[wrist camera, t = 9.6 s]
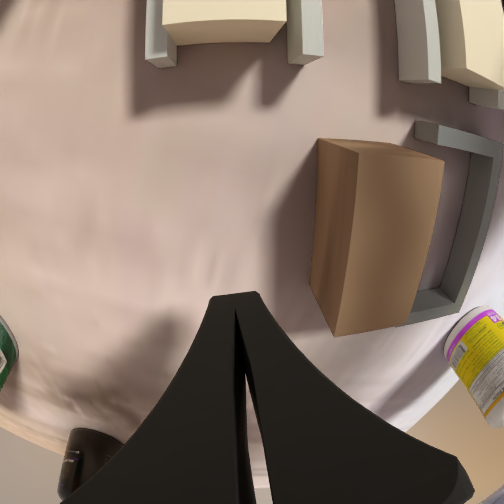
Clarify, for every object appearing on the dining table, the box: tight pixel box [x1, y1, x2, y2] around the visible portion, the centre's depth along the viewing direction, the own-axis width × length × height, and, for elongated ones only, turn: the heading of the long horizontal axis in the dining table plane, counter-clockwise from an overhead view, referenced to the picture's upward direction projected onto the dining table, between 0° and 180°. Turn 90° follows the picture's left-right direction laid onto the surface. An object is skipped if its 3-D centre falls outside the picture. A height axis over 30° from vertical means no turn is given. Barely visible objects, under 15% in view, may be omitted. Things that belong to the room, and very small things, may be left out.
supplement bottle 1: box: [58, 428, 123, 501], centre depth 19 cm, size 7×7×12 cm
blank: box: [309, 138, 445, 337], centre depth 13 cm, size 4×8×4 cm, turn 1°
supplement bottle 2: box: [444, 306, 504, 428], centre depth 16 cm, size 7×7×13 cm
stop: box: [395, 120, 504, 327], centre depth 15 cm, size 6×12×2 cm, turn 1°
